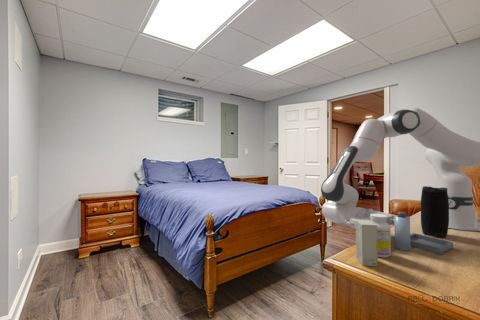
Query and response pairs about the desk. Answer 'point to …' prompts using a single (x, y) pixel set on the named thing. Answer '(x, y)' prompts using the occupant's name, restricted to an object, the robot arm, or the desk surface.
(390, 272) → the desk surface
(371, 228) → the skincare box
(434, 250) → the box
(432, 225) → the portable speaker
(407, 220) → the blue bottle
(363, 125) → the robot arm
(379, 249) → the supplement bottle
